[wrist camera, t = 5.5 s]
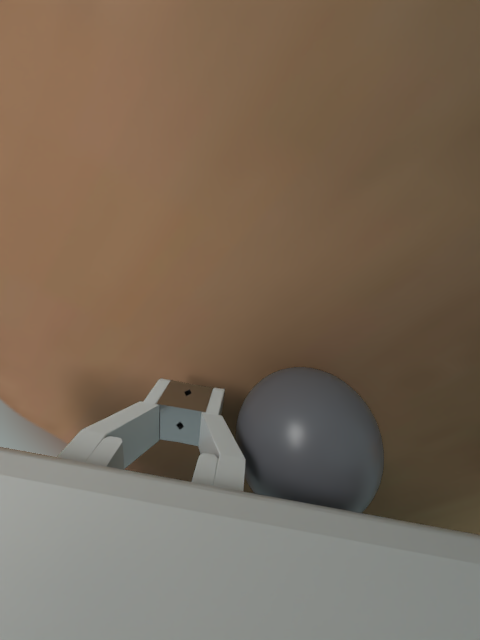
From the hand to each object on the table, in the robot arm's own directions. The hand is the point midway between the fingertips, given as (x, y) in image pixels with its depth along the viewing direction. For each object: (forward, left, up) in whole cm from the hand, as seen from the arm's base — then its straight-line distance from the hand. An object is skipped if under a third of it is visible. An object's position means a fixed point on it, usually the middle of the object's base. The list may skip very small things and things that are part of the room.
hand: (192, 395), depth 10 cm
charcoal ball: (+3, +3, +1) cm, 5 cm away
